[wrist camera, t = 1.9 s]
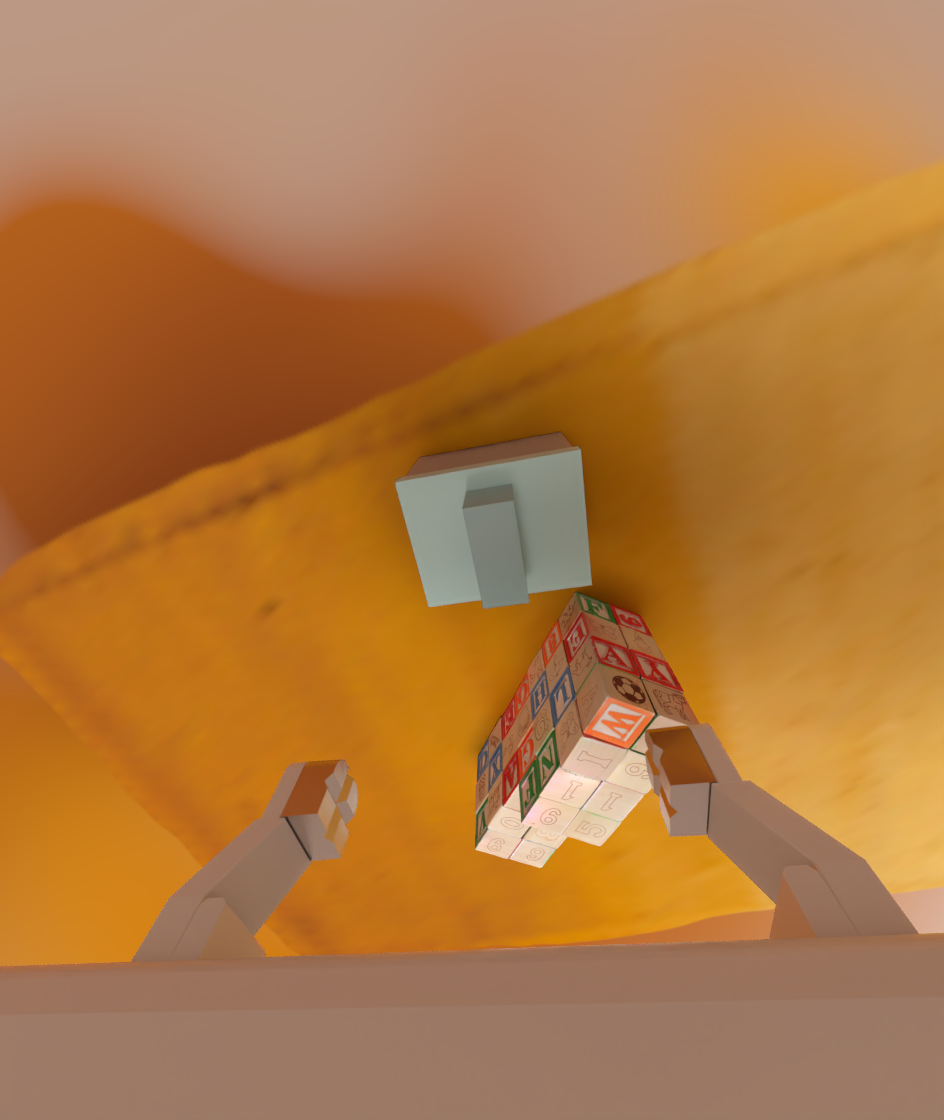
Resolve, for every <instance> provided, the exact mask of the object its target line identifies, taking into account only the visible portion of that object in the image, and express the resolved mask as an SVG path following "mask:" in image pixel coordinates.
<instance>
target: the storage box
mask: <svg viewBox="0 0 944 1120" xmlns="http://www.w3.org/2000/svg"><path fill="white" fill-rule="evenodd" d="M568 447H572V446H571V445H570V443H569V442H568V441H567V439H566V438H565V437H564V435H563V434H562V433H561V432H556V433H551V434H545V435H540V436H535V437H529V438H524V439H518V440H513V441H507V442H502V443H496V444H491V445H485V446H480V447H474V448H469V449H463V450H458V451H452V452H447V453H442V454H436V455H431V456H425V457H420V458H419V459H418V460H417V462H416V463H415V464H414V466H413V467H412V468H411V470H410V471H409V472H408V474H407V475H406V476H411V475H416V474H422V473H428V472H433V471H439V470H445V469H450V468H456V467H461V466H467V465H473V464H478V463H484V462H490V461H495V460H501V459H506V458H512V457H518V456H523V455H529V454H535V453H540V452H546V451H552V450H557V449H563V448H568Z"/></svg>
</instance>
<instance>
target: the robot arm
mask: <svg viewBox="0 0 944 1120" xmlns="http://www.w3.org/2000/svg"><path fill="white" fill-rule="evenodd" d="M645 742H646V744H647V747H648V750H647V751H646V752H645V757H646V766H647V771H648V776H649V779H650V783H651V785H652V788H653V791H654V793H656V794H657V795H658V796H659V797H660V811H661V813H662V816H663V819H664V821H665V824H666V827H667V830H668V832H669V835H670V836H694V835H708V838H709V839H710V840H711V841H712V842H713V843H714V844H715V845H716V846H717V847H718V848H719V849H720V850H721V851H722V852H723V853H724V854H725V855H727V856H728V857H729V858H730V859H731V860H732V861H733V862H734V863H735V864H736V865H737V866H738V867H739V868H740V869H741V870H742V871H743V872H744V873H745V874H746V875H747V876H748V877H749V878H750V879H751V880H752V881H753V882H754V883H755V884H756V885H757V886H758V887H759V888H760V889H761V890H762V891H763V892H764V893H765V894H766V895H767V896H768V897H769V898H770V899H771V900H772V901H773V902H774V903H775V904H776V908H775V912H774V918H773V922H772V927H771V932H770V939H764V940H738V941H709V942H682V943H681V942H680V943H653V944H626V945H625V944H623V945H598V946H597V945H594V946H566V947H537V948H509V949H479V950H453V951H452V950H451V951H424V952H396V953H368V954H340V955H312V956H284V957H266V953H265V950H264V948H263V947H262V946H261V945H260V943H259V942H258V941H257V939H256V938H255V937H254V935H255V934H256V933H257V932H258V930H259V929H260V928H261V926H262V925H263V924H264V923H265V921H266V920H267V919H268V917H269V916H270V915H271V914H272V912H273V911H274V910H275V908H276V907H277V906H278V905H279V903H280V902H281V901H282V899H283V898H284V897H285V896H286V894H287V893H288V892H289V891H290V889H291V888H292V887H293V885H294V884H295V883H296V882H297V880H298V879H299V878H300V876H301V875H302V874H303V873H304V871H305V870H306V869H307V867H308V866H309V865H310V864H311V862H310V861H315V860H325V859H335V858H341V857H342V853H343V850H344V847H345V844H346V841H347V837H348V834H349V831H348V828H347V825H346V824H347V823H348V822H349V821H350V820H351V818H352V817H353V816H354V814H355V811H356V807H357V800H358V790H357V785H356V782H355V780H354V778H352V777H351V776H349V775H348V774H347V772H348V769H349V767H348V765H347V763H346V761H345V760H328V761H313V762H301V763H292V764H291V765H290V766H288V767H287V769H286V771H285V773H284V774H283V776H282V778H281V780H280V782H279V784H278V786H277V788H276V790H275V792H274V794H273V796H272V798H271V800H270V802H269V804H268V806H267V808H266V810H265V812H264V814H263V816H262V818H261V819H259V820H255V821H254V822H253V823H252V824H251V825H250V826H248V827H247V828H246V829H245V830H244V831H243V832H242V833H241V834H240V835H238V836H237V837H236V838H235V839H234V840H233V841H232V842H231V843H230V844H229V845H227V846H226V847H225V848H224V849H223V850H222V851H221V852H220V853H219V854H217V855H216V856H215V857H214V858H213V859H212V860H211V861H210V862H209V863H208V864H206V865H205V866H204V867H203V868H202V869H201V870H200V871H199V872H198V873H197V874H196V875H194V876H193V877H192V878H191V879H190V880H189V881H188V882H187V883H185V884H184V885H183V886H182V887H181V888H180V889H179V890H178V891H177V892H175V894H173V895H172V896H171V897H170V898H169V899H168V901H167V903H166V904H165V906H164V908H163V909H162V911H161V913H160V914H159V916H158V918H157V919H156V921H155V923H154V924H153V926H152V928H151V929H150V931H149V933H148V934H147V936H146V938H145V939H144V941H143V943H142V945H141V946H140V948H139V949H138V951H137V953H136V954H135V956H134V958H133V959H132V961H131V962H118V963H88V964H60V965H59V964H58V965H29V966H0V1120H944V933H931V934H930V933H929V934H919V933H918V932H917V930H916V929H915V928H914V927H913V925H912V924H911V922H910V921H909V919H908V918H907V917H906V915H905V914H904V913H903V911H902V910H901V908H900V907H899V906H898V904H897V903H896V902H895V900H894V899H893V897H892V896H891V895H890V893H889V892H888V891H887V889H886V888H885V886H884V885H883V884H882V882H881V881H880V880H879V878H878V877H877V875H876V874H875V873H874V871H873V870H872V869H871V867H870V866H869V864H868V863H867V862H866V860H864V859H863V858H862V857H860V856H859V855H857V854H856V853H854V852H853V851H851V850H850V849H848V848H847V847H846V846H844V845H843V844H841V843H840V842H838V841H837V840H835V839H834V838H832V837H831V836H830V835H828V834H827V833H825V832H824V831H822V830H821V829H819V828H818V827H816V826H815V825H814V824H812V823H811V822H809V821H808V820H806V819H805V818H803V817H802V816H800V815H799V814H798V813H796V812H795V811H793V810H792V809H790V808H789V807H787V806H786V805H784V804H783V803H782V802H780V801H779V800H777V799H776V798H774V797H773V796H771V795H770V794H768V793H767V792H766V791H764V790H763V789H761V788H760V787H758V786H757V785H755V784H754V783H752V782H751V781H743V780H742V778H741V777H740V775H739V773H738V771H737V770H736V768H735V766H734V765H733V763H732V761H731V760H730V758H729V756H728V754H727V753H726V751H725V749H724V748H723V746H722V744H721V742H720V741H719V739H718V737H717V736H716V734H715V732H714V730H713V729H712V727H711V726H710V725H709V724H696V725H687V726H685V725H683V726H674V727H665V728H656V729H647V730H646V731H645Z"/></svg>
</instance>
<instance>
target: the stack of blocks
mask: <svg viewBox="0 0 944 1120" xmlns="http://www.w3.org/2000/svg"><path fill="white" fill-rule="evenodd" d="M683 692H684V691H683V689H682V688H681V686H680V683H679V682H678V680H677V678H676V676H675V675H674V673H673V671H672V669H671V668H670V666H669V664H668V663H667V662H666V661H665V659H664V657H663V655H662V654H661V652H660V650H659V648H658V646H657V645H656V643H655V641H654V639H653V637H652V635H651V633H650V631H649V629H648V628H647V626H646V624H645V622H644V620H643V618H642V617H641V616H639V615H637V614H634V613H631V612H629V611H626V610H624V609H621V608H618V607H616V606H613V605H610V604H606V603H604V602H601V601H599V600H596V599H593V598H591V597H588V596H586V595H583V594H581V593H578V592H575V593H574V594H573V596H572V598H571V599H570V601H569V603H568V605H567V606H566V608H565V609H564V611H563V613H562V614H561V616H560V618H559V619H558V620H557V621H556V623H555V624H554V626H553V628H552V629H551V631H550V633H549V635H548V636H547V638H546V640H545V641H544V643H543V645H542V647H541V648H540V650H539V651H538V653H537V654H536V656H535V658H534V660H533V661H532V663H531V665H530V666H529V668H528V671H527V674H526V675H525V678H524V679H523V681H522V683H521V684H520V686H519V688H518V689H517V691H516V693H515V696H514V697H513V699H512V701H511V702H510V704H509V706H508V708H507V709H506V711H505V713H504V714H503V717H501V718H500V719H499V721H498V723H497V724H496V726H495V728H494V729H493V731H492V733H491V734H490V736H489V739H488V740H487V742H486V743H485V745H484V747H483V749H482V750H481V752H480V754H479V756H478V768H477V785H476V805H475V813H476V814H477V816H476V835H475V849H476V850H479V851H482V852H486V853H489V854H492V855H496V856H499V857H502V858H505V859H508V858H510V859H511V860H515V861H518V862H522V863H525V864H529V865H532V866H535V867H539V868H542V867H543V865H544V864H545V863H546V862H547V860H548V859H549V858H550V856H551V855H552V854H553V853H554V851H555V849H557V848H559V846H560V845H561V844H562V843H563V841H564V840H565V839H566V838H567V837H571V838H575V839H578V840H581V841H584V842H587V843H590V844H593V845H596V846H601V845H602V844H603V843H604V842H605V841H606V840H607V839H608V838H609V837H610V835H611V834H612V833H613V832H614V831H615V830H616V828H617V827H618V826H619V825H620V824H621V821H622V820H623V819H624V818H625V817H626V816H627V815H628V814H629V813H630V812H631V810H632V809H633V808H634V807H635V806H636V805H637V804H638V802H639V801H640V800H641V799H642V797H643V796H644V794H646V793H648V792H649V790H650V789H651V788H652V785H651V783H650V779H649V776H648V771H647V766H646V757H645V752H646V751H647V750H648V747H647V744H646V742H645V731H646V730H647V729H656V728H665V727H674V726H683V725H685V726H687V725H696V724H699V722H698V720H697V718H696V717H695V715H694V713H693V711H692V709H691V708H690V706H689V704H688V702H687V701H686V699H685V697H684V696H683Z"/></svg>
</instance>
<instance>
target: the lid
mask: <svg viewBox="0 0 944 1120" xmlns="http://www.w3.org/2000/svg"><path fill="white" fill-rule="evenodd" d="M395 486H396V489H397V493H398V497H399V500H400V504H401V507H402V511H403V515H404V518H405V522H406V526H407V529H408V533H409V537H410V540H411V544H412V548H413V551H414V555H415V559H416V562H417V566H418V569H419V573H420V577H421V580H422V584H423V588H424V591H425V595H426V599H427V602H428V606H429V607H433V606H441V605H448V604H456V603H463V602H471V601H478V600H481V601H482V606H483V609H486V608H493V607H501V606H509V605H516V604H524V603H529V596H528V594H530V593H538V592H545V591H553V590H560V589H567V588H575V587H582V586H590V585H592V580H591V567H590V555H589V543H588V530H587V518H586V505H585V493H584V481H583V468H582V456H581V449H580V448H579V447H578V446H574V447H568V448H563V449H557V450H552V451H546V452H540V453H535V454H529V455H523V456H518V457H512V458H506V459H501V460H495V461H490V462H484V463H478V464H473V465H467V466H461V467H456V468H450V469H445V470H439V471H433V472H428V473H422V474H416V475H411V476H405V477H399V478H398V479H397V480H396V481H395Z"/></svg>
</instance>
